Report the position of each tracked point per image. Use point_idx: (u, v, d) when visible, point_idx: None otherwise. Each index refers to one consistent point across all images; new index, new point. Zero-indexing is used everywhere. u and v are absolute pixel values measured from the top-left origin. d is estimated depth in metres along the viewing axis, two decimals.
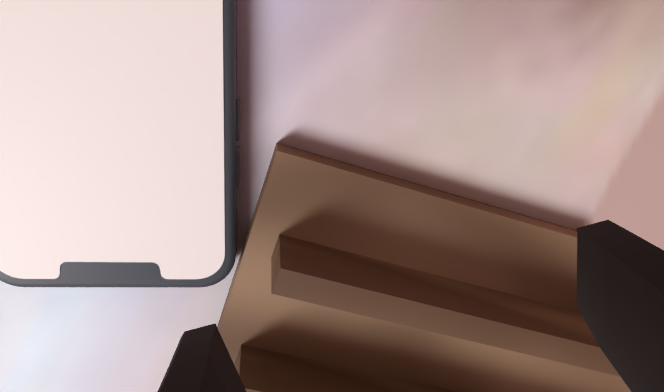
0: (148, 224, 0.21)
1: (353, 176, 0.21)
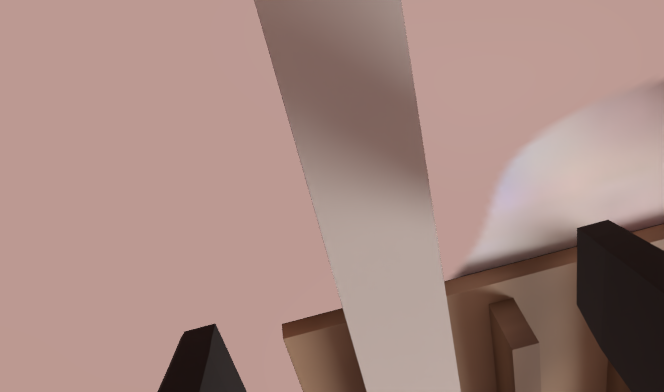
0: None
1: None
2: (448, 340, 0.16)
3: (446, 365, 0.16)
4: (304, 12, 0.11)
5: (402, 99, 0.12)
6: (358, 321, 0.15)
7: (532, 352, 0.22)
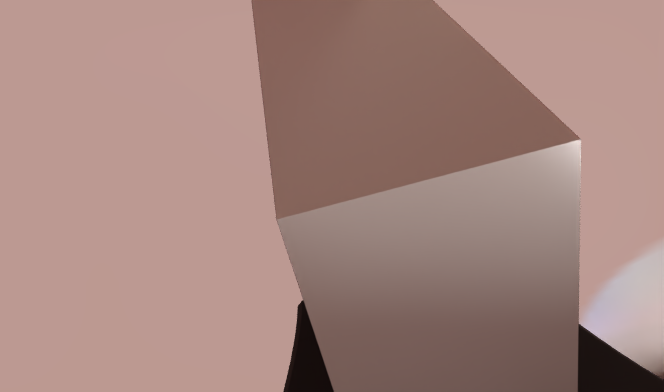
0: None
1: None
2: None
3: None
4: (381, 236, 0.05)
5: (553, 359, 0.06)
6: None
7: None
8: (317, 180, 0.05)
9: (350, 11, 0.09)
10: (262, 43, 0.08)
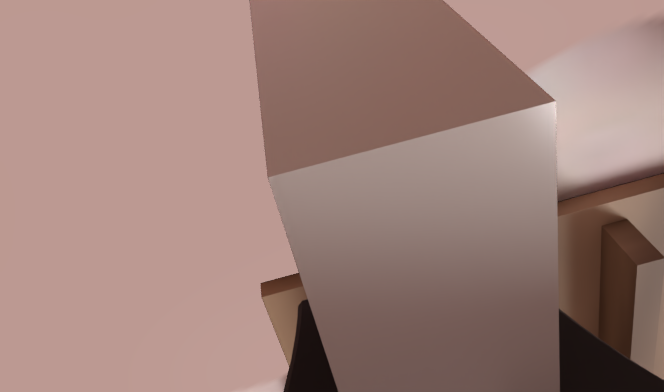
0: None
1: None
2: None
3: None
4: (367, 196, 0.05)
5: (534, 320, 0.06)
6: None
7: None
8: (308, 143, 0.05)
9: None
10: (257, 24, 0.09)
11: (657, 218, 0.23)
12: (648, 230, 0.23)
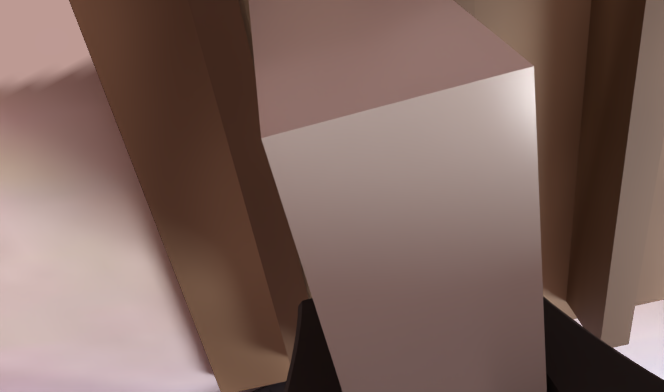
0: None
1: (205, 339, 0.21)
2: None
3: None
4: (355, 157, 0.06)
5: (519, 284, 0.07)
6: None
7: None
8: (301, 108, 0.06)
9: None
10: (254, 9, 0.09)
11: None
12: None
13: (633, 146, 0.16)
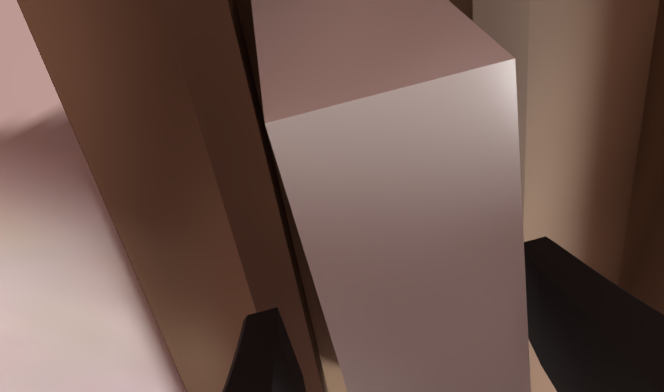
0: None
1: None
2: None
3: None
4: (351, 141, 0.06)
5: (503, 262, 0.07)
6: None
7: None
8: (300, 96, 0.06)
9: None
10: (256, 3, 0.09)
11: None
12: None
13: None
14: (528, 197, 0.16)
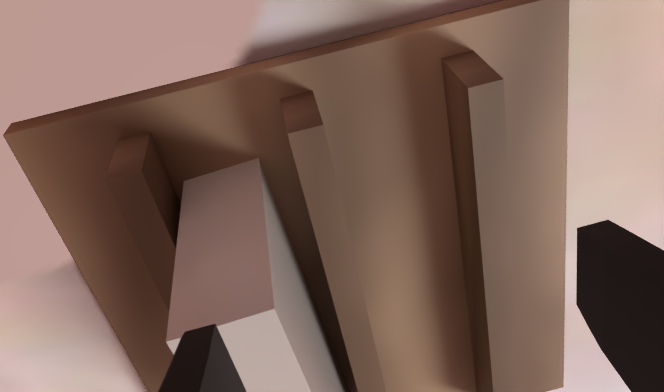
0: None
1: None
2: None
3: None
4: None
5: (296, 384, 0.15)
6: None
7: (316, 140, 0.16)
8: (184, 323, 0.14)
9: (226, 208, 0.17)
10: (180, 229, 0.17)
11: (512, 52, 0.19)
12: (502, 69, 0.19)
13: (491, 305, 0.21)
14: (391, 292, 0.23)
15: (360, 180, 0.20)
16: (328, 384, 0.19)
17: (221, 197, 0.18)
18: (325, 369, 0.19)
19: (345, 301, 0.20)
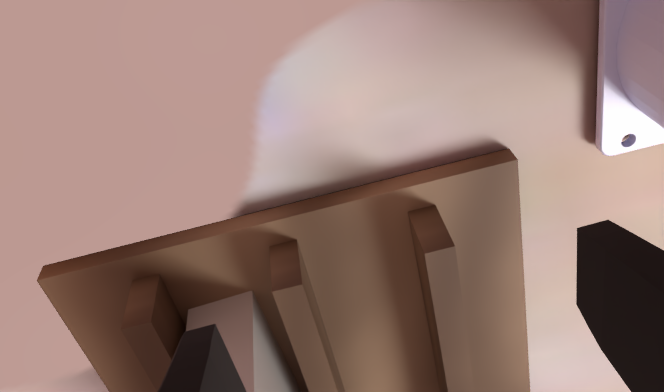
0: None
1: None
2: None
3: None
4: None
5: None
6: None
7: (296, 295, 0.20)
8: None
9: None
10: None
11: (469, 205, 0.21)
12: (462, 218, 0.22)
13: None
14: (372, 389, 0.26)
15: (341, 305, 0.23)
16: None
17: None
18: None
19: None
